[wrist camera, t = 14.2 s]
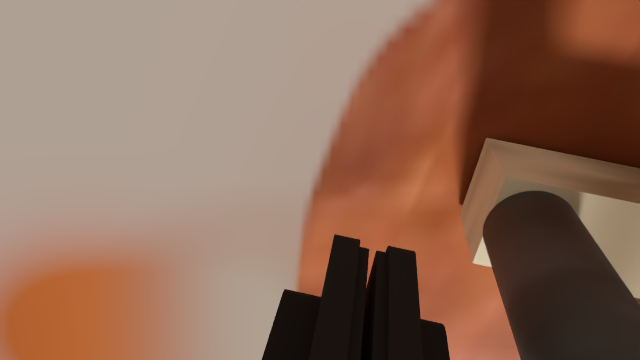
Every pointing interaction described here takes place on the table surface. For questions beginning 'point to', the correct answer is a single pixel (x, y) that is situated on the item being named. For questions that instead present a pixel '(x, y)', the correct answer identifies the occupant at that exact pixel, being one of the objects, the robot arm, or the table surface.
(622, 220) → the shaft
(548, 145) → the table surface
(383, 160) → the table surface
